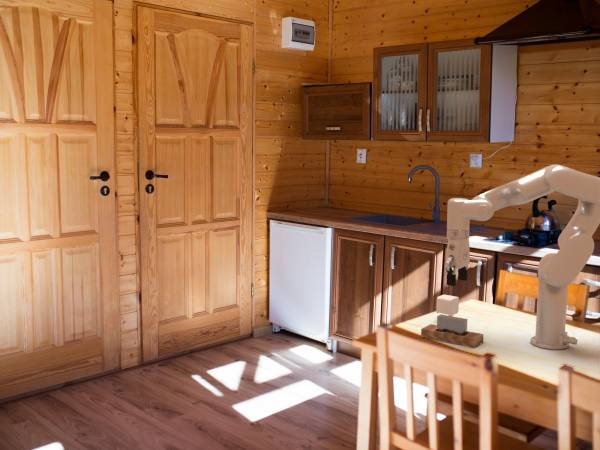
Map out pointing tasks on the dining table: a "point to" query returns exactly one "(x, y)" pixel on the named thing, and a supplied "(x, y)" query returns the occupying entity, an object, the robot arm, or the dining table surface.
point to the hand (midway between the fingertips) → (456, 282)
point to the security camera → (447, 305)
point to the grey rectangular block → (452, 324)
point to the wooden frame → (452, 336)
